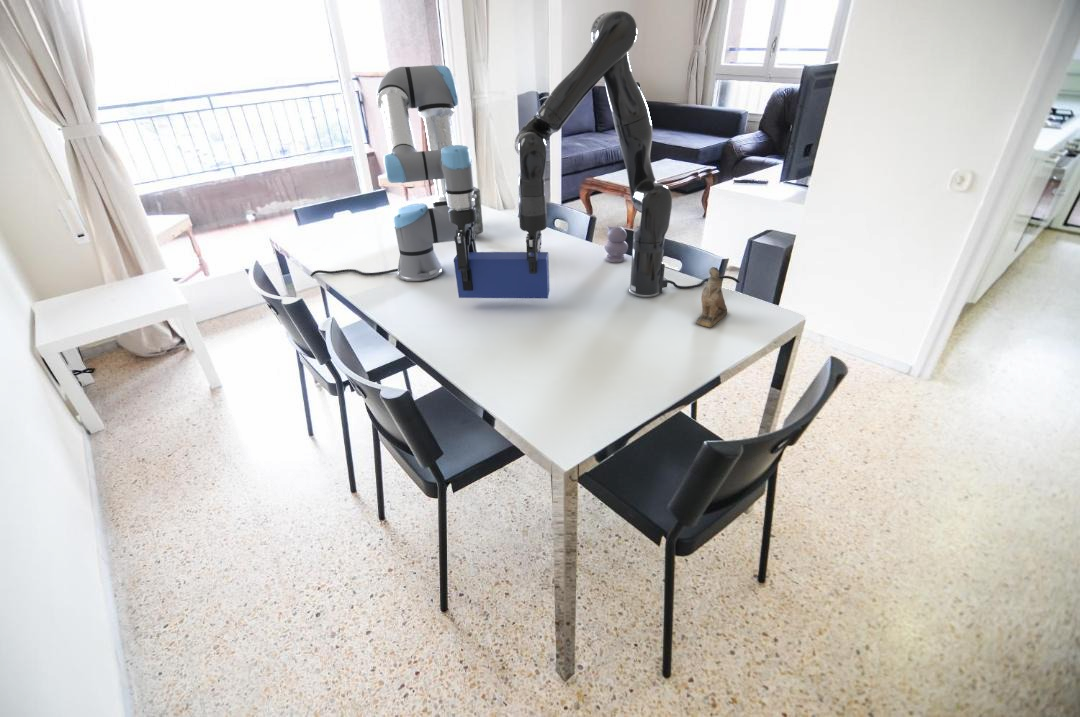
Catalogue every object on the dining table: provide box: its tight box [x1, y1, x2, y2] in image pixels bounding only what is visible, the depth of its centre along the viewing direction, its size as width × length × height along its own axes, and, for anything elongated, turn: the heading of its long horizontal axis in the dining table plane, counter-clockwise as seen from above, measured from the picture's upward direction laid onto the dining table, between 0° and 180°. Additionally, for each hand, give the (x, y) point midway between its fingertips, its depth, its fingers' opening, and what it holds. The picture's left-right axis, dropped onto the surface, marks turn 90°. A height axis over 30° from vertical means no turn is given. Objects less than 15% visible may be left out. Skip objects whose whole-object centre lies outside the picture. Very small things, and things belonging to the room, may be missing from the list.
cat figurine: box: [604, 225, 629, 264], centre depth 178 cm, size 9×8×12 cm
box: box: [453, 251, 550, 300], centre depth 145 cm, size 27×6×12 cm, turn 84°
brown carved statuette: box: [695, 266, 728, 328], centre depth 135 cm, size 12×6×18 cm, turn 136°
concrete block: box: [473, 186, 484, 236], centre depth 209 cm, size 27×9×20 cm, turn 36°
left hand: (470, 285), depth 148 cm, fingers closed on box, 6 cm apart
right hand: (535, 267), depth 143 cm, fingers open, 8 cm apart
